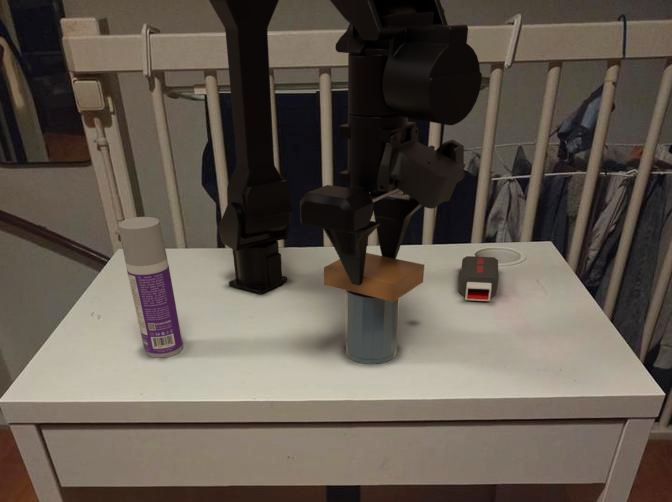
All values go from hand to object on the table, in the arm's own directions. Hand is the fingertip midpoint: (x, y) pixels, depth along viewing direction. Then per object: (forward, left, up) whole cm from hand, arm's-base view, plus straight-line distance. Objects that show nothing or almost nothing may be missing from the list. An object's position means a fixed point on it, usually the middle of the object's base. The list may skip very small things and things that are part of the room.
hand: (373, 274), depth 68 cm
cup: (0, 0, -9) cm, 9 cm away
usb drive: (+2, +26, -10) cm, 28 cm away
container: (-22, -13, -10) cm, 27 cm away
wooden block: (0, 0, -1) cm, 1 cm away
